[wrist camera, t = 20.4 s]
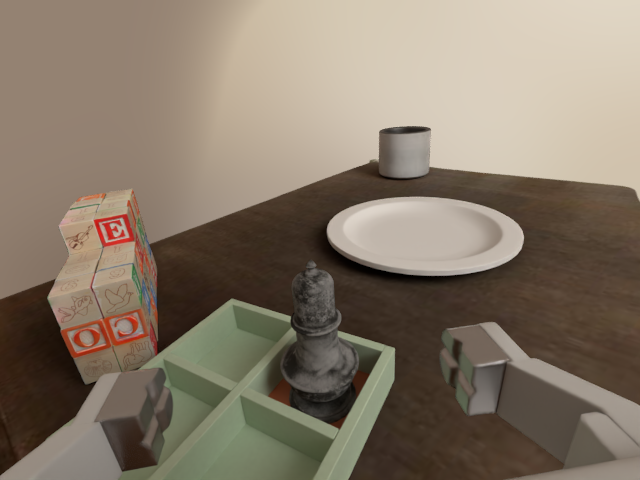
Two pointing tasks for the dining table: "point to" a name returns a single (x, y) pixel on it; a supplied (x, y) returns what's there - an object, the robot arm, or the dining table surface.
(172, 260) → the dining table surface
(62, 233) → the stack of blocks
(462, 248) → the plate
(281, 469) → the grid
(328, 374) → the grey chess piece
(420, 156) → the planter
